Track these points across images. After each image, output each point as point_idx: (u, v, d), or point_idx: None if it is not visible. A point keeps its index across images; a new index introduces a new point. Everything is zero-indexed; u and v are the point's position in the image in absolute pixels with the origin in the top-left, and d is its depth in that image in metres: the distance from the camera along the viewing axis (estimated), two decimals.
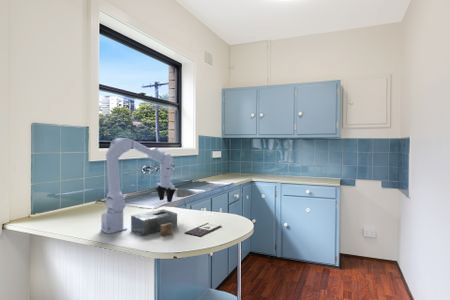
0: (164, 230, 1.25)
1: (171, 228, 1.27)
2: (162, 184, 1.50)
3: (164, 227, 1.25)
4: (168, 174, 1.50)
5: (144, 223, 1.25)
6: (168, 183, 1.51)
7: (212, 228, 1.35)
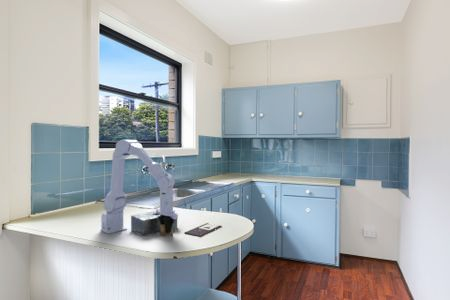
0: (164, 230, 1.25)
1: (171, 228, 1.27)
2: (162, 212, 1.24)
3: (164, 227, 1.25)
4: (163, 200, 1.24)
5: (144, 223, 1.25)
6: (170, 211, 1.24)
7: (212, 228, 1.35)
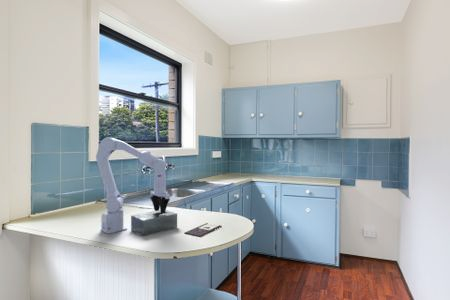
0: None
1: None
2: (156, 193, 1.35)
3: None
4: (159, 182, 1.35)
5: (144, 223, 1.25)
6: (163, 192, 1.36)
7: (212, 228, 1.35)
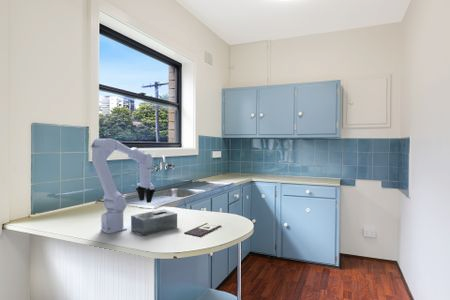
0: None
1: None
2: (141, 184, 1.47)
3: None
4: (149, 174, 1.48)
5: (144, 223, 1.25)
6: (148, 183, 1.48)
7: (212, 228, 1.35)
